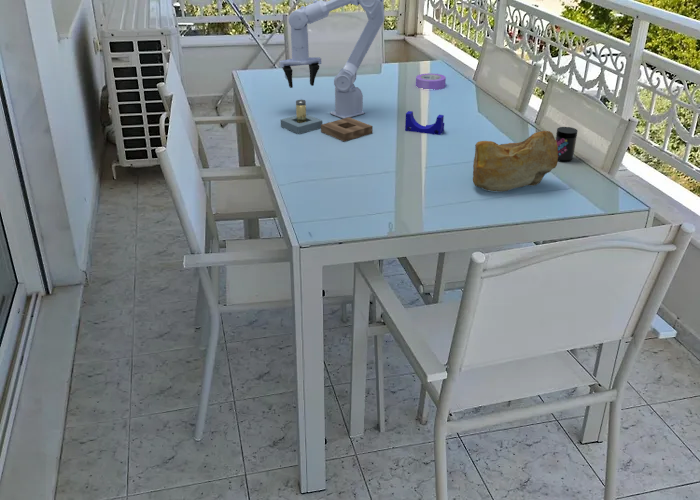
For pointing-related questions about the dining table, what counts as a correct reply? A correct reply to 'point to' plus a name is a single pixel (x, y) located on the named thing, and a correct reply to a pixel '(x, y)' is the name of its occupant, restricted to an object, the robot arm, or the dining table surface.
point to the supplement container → (566, 143)
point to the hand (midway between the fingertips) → (301, 86)
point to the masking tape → (430, 81)
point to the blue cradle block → (429, 129)
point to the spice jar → (301, 111)
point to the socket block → (346, 129)
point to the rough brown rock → (514, 162)
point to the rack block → (301, 124)
